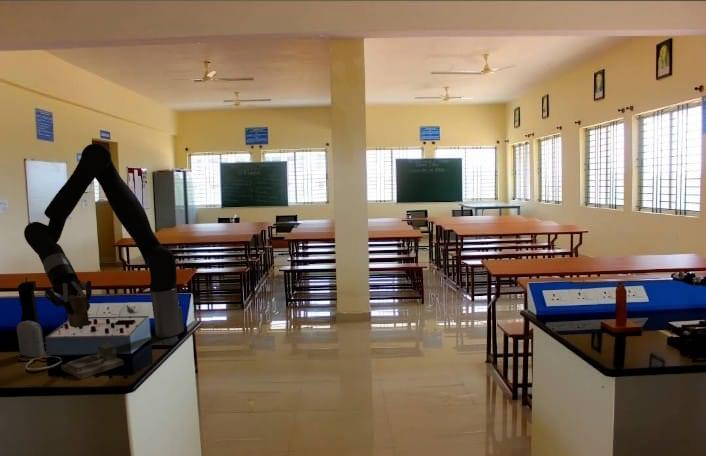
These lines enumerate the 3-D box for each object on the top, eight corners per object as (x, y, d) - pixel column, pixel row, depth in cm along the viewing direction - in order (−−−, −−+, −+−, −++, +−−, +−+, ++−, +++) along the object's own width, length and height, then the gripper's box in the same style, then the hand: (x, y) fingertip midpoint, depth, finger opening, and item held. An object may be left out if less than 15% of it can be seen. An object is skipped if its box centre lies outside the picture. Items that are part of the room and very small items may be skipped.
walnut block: (82, 322, 162) (78, 294, 161) (89, 324, 159) (85, 296, 158) (69, 325, 159) (65, 297, 158) (75, 327, 156) (71, 299, 155)
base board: (103, 356, 171) (101, 341, 171) (123, 364, 161) (121, 347, 161) (61, 369, 161) (59, 353, 161) (80, 379, 152) (78, 361, 151)
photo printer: (47, 354, 180) (42, 320, 179) (34, 358, 176) (29, 323, 175) (31, 351, 185) (26, 318, 184) (18, 355, 181) (13, 321, 180)
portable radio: (26, 337, 205) (17, 276, 203) (43, 334, 208) (34, 274, 205) (23, 342, 198) (13, 279, 196) (41, 339, 201) (31, 277, 198)
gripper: (36, 267, 156) (56, 310, 150) (84, 259, 167) (105, 298, 160) (33, 283, 160) (52, 325, 154) (80, 273, 171) (101, 313, 164)
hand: (79, 311), depth 157 cm, fingers closed on walnut block, 4 cm apart
